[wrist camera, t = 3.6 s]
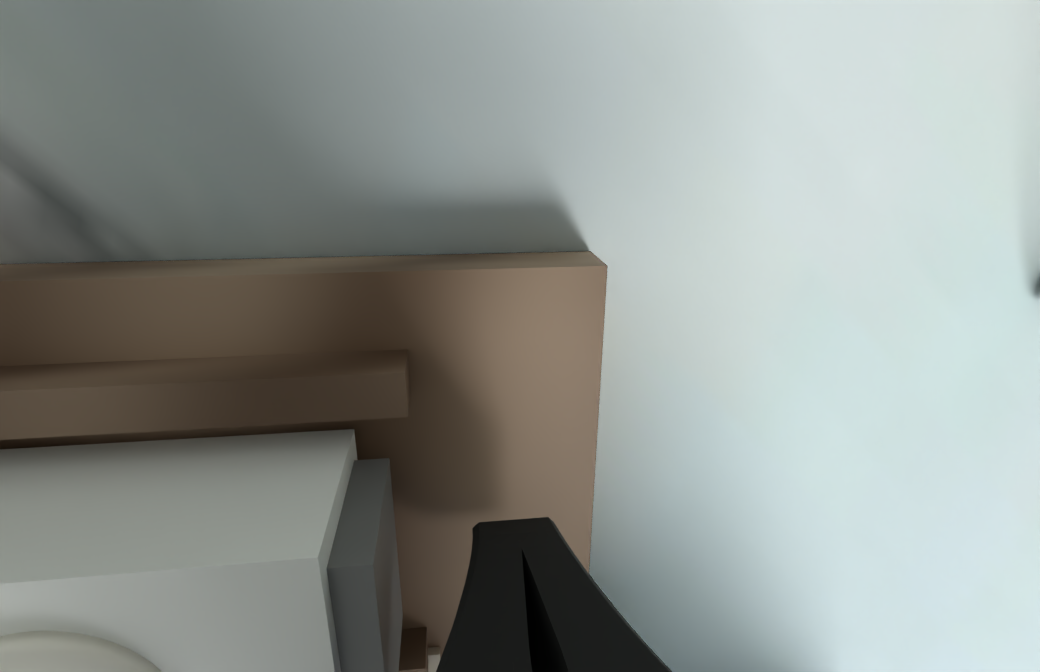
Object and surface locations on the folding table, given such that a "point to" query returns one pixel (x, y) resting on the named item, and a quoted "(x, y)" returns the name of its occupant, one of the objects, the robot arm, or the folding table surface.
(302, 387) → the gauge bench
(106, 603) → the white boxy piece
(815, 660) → the folding table surface
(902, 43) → the folding table surface
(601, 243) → the folding table surface
